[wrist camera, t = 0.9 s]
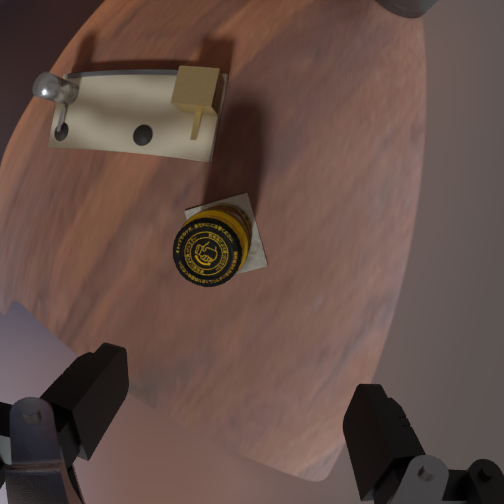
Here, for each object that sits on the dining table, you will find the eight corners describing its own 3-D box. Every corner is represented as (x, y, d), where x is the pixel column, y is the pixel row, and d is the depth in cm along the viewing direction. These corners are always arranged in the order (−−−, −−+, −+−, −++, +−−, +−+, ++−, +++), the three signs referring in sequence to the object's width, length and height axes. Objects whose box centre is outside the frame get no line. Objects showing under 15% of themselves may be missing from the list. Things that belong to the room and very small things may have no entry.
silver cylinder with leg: (64, 84, 29) (36, 73, 23) (81, 82, 29) (54, 70, 23) (53, 131, 30) (23, 127, 24) (70, 132, 30) (40, 126, 24)
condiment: (247, 192, 33) (238, 196, 21) (267, 265, 34) (269, 307, 23) (184, 210, 34) (144, 225, 22) (206, 281, 35) (180, 327, 23)
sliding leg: (189, 78, 28) (179, 65, 25) (225, 81, 28) (219, 68, 25) (175, 138, 30) (164, 132, 26) (212, 142, 30) (205, 137, 26)
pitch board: (70, 77, 30) (63, 73, 28) (228, 78, 30) (226, 73, 28) (54, 147, 32) (46, 147, 30) (211, 162, 32) (208, 161, 30)
